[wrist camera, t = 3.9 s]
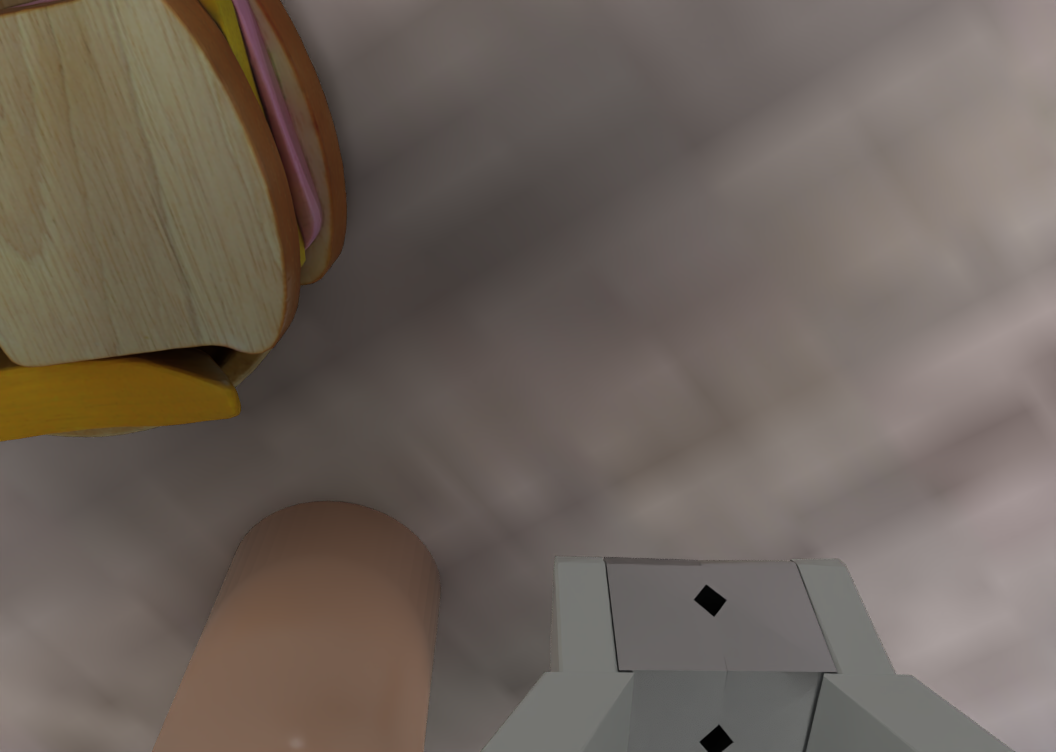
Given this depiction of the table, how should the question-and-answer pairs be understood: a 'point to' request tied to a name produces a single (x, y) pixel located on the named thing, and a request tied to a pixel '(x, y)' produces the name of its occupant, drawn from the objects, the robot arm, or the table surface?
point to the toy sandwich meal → (154, 207)
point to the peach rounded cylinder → (314, 640)
